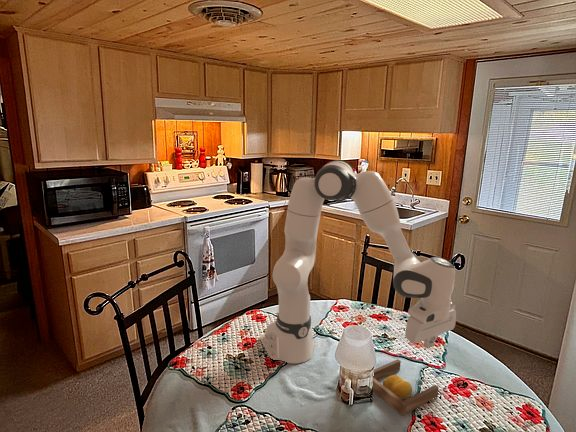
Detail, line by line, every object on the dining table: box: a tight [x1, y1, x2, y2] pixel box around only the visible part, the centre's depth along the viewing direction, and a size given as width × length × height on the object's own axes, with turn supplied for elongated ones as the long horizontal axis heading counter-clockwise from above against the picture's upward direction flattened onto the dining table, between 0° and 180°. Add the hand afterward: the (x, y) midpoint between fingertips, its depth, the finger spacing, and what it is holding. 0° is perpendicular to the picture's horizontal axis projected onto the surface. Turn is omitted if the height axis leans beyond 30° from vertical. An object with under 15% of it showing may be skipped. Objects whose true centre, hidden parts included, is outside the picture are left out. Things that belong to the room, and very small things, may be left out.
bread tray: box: [373, 358, 439, 416], centre depth 122 cm, size 16×15×4 cm
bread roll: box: [382, 374, 413, 400], centre depth 122 cm, size 8×9×4 cm
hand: (428, 346), depth 127 cm, fingers closed
